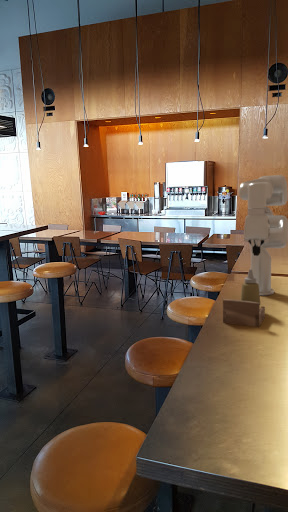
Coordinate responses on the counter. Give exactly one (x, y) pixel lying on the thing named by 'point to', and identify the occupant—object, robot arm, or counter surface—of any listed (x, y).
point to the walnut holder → (243, 312)
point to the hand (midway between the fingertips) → (256, 255)
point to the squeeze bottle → (250, 289)
